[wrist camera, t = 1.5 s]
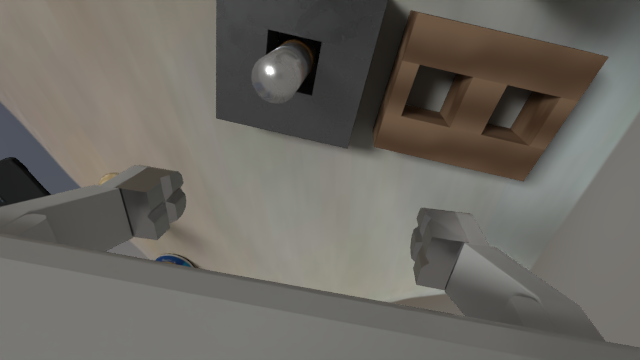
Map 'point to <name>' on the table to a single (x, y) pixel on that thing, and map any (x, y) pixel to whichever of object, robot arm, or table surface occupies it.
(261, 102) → the socket block
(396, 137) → the walnut rack
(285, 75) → the metal vial
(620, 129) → the table surface
